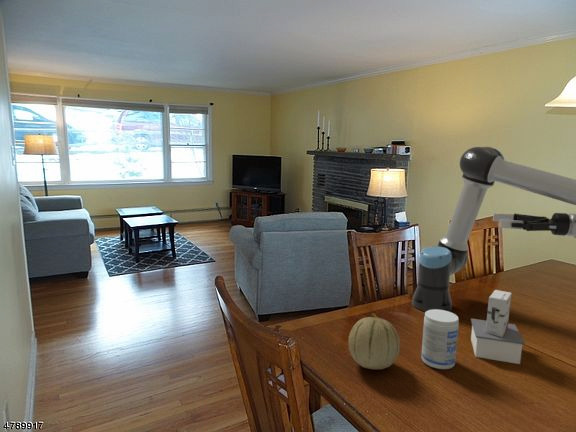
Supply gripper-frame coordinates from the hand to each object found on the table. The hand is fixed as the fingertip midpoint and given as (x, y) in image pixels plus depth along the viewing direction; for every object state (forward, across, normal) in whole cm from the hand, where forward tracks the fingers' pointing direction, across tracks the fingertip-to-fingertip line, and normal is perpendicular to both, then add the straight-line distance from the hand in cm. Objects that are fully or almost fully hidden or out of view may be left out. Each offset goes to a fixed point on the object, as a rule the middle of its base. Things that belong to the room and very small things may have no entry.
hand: (496, 220), depth 138 cm
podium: (+1, -23, -38) cm, 44 cm away
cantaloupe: (+36, -45, -38) cm, 69 cm away
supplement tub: (+18, -36, -38) cm, 55 cm away
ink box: (+1, -23, -31) cm, 39 cm away
